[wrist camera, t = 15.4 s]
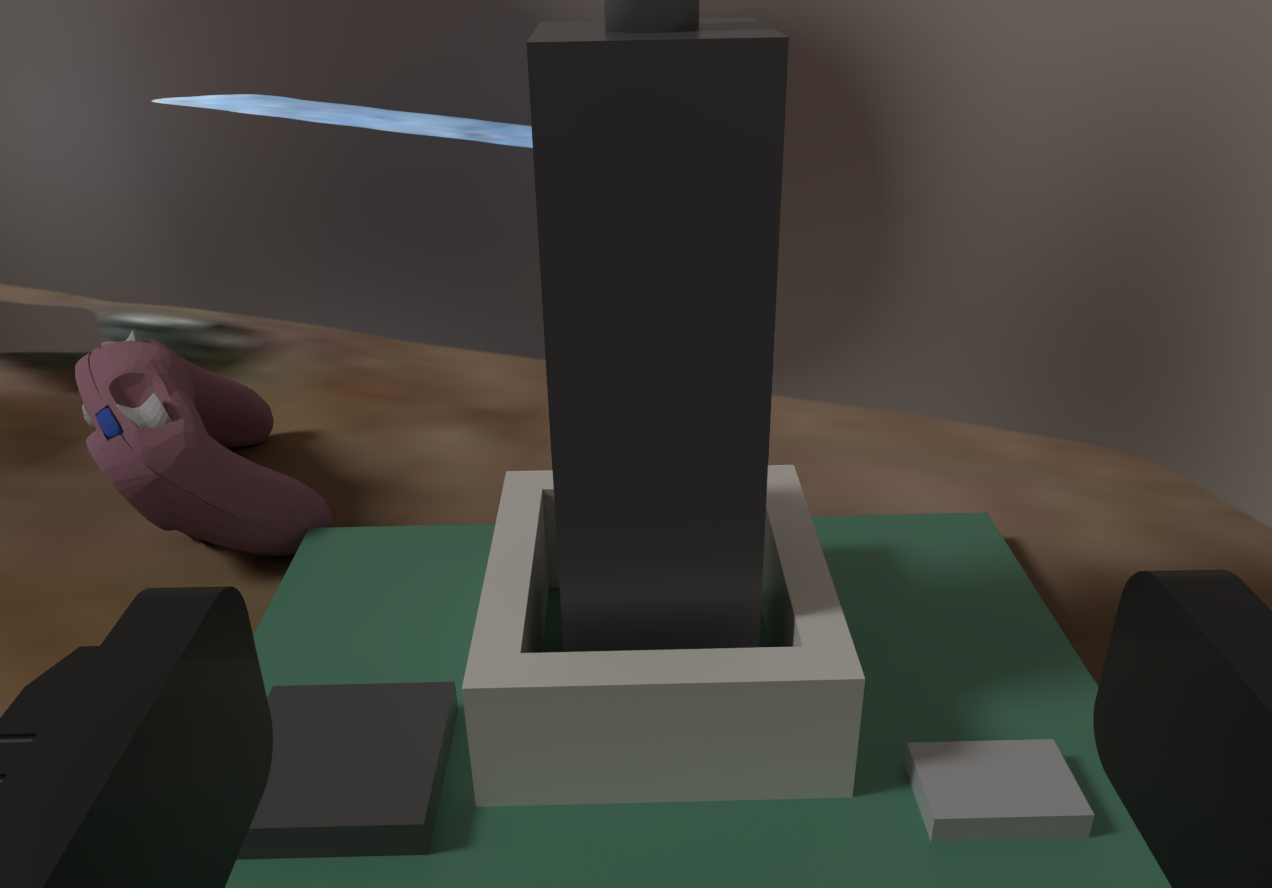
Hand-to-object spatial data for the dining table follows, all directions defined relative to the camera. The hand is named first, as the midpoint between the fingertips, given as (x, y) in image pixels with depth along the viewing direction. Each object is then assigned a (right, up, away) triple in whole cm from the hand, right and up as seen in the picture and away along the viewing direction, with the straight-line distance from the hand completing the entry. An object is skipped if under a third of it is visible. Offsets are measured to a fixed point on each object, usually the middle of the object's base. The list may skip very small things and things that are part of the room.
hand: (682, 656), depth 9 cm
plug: (0, -3, +14) cm, 15 cm away
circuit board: (0, -4, +15) cm, 15 cm away
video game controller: (-14, 0, +24) cm, 28 cm away
